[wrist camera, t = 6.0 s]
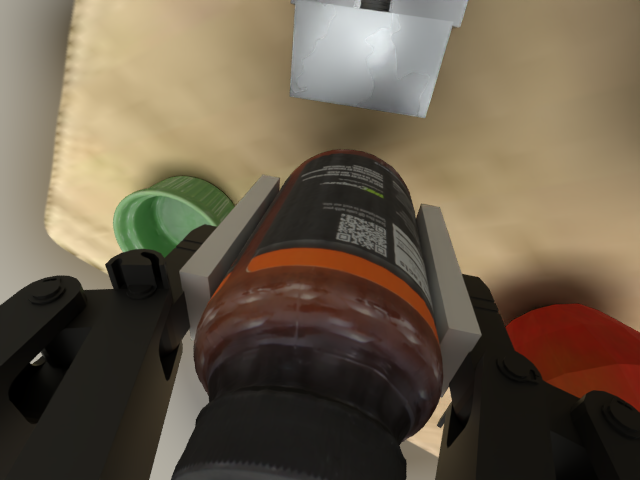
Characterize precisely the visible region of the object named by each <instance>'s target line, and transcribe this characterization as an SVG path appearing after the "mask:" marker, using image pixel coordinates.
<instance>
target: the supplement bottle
mask: <svg viewBox="0 0 640 480" xmlns="http://www.w3.org/2000/svg"><path fill="white" fill-rule="evenodd" d="M194 362H195V369H196V373H197V375H198V378H199V380H200V382H201V383H202V384H203V387H204V389H205V391H206V392H207V394H208V396H209V403H208V404H207V405H206V406H205V407H204V408H203V409H202V410H201V411H200V413H199V415H198V417H197V419H196V426H195V429H194V431H193V433H192V435H191V437H190V439H189V442H188V443H187V446H186V448H185V450H184V452H183V454H182V456H181V458H180V460H179V461H178V464H177V465H176V467H175V470H174V472H173V475H172V478H171V480H406V459H405V458H404V457H403V454H402V452H401V449H400V446H399V445H400V444H401V442H403V441H405V440H406V439H407V438H409V437H411V436H413V435H414V434H416V433H417V432H418V431H419V430H420V429H421V428H423V427H424V425H425V424H426V423H427V422H428V420H429V419H430V417H431V416H432V414H433V412H434V411H435V409H436V407H437V404H438V402H439V399H440V396H441V393H442V385H443V362H442V355H441V350H440V345H439V339H438V335H437V330H436V322H435V316H434V312H433V306H432V301H431V296H430V291H429V286H428V281H427V276H426V270H425V265H424V259H423V254H422V249H421V244H420V239H419V233H418V228H417V222H416V217H415V211H414V207H413V203H412V200H411V196H410V192H409V190H408V188H407V186H406V184H405V182H404V181H403V179H402V178H401V177H400V175H399V174H398V173H397V172H396V170H395V169H394V168H393V167H392V166H390V165H389V164H387V163H385V162H384V161H383V160H381V159H379V158H377V157H376V156H374V155H372V154H368V153H365V152H363V151H356V150H349V149H344V150H341V149H338V150H331V151H327V152H323V153H321V154H318V155H316V156H314V157H312V158H310V159H308V160H307V161H305V162H304V163H302V164H301V165H300V166H299V167H298V168H297V169H295V170H294V171H293V173H292V174H291V175H290V177H288V179H287V180H286V181H285V183H284V185H283V186H282V188H281V189H280V191H279V193H278V194H277V196H276V197H275V199H274V200H273V201H272V204H271V205H270V206H269V208H268V210H267V211H266V213H265V214H264V216H263V218H262V219H261V220H260V222H259V223H258V225H257V227H256V228H255V230H254V231H253V233H252V235H251V236H250V238H249V239H248V241H247V242H246V244H245V246H244V247H243V249H242V250H241V252H240V253H239V255H238V256H237V258H236V259H235V261H234V262H233V264H232V266H231V267H230V269H229V270H228V271H227V273H226V275H225V276H224V278H223V280H222V282H221V284H220V285H219V287H218V288H217V290H216V291H215V293H214V294H213V296H212V297H211V299H210V301H209V302H208V304H207V306H206V308H205V310H204V312H203V314H202V316H201V319H200V321H199V324H198V326H197V330H196V335H195V340H194Z"/></svg>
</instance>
